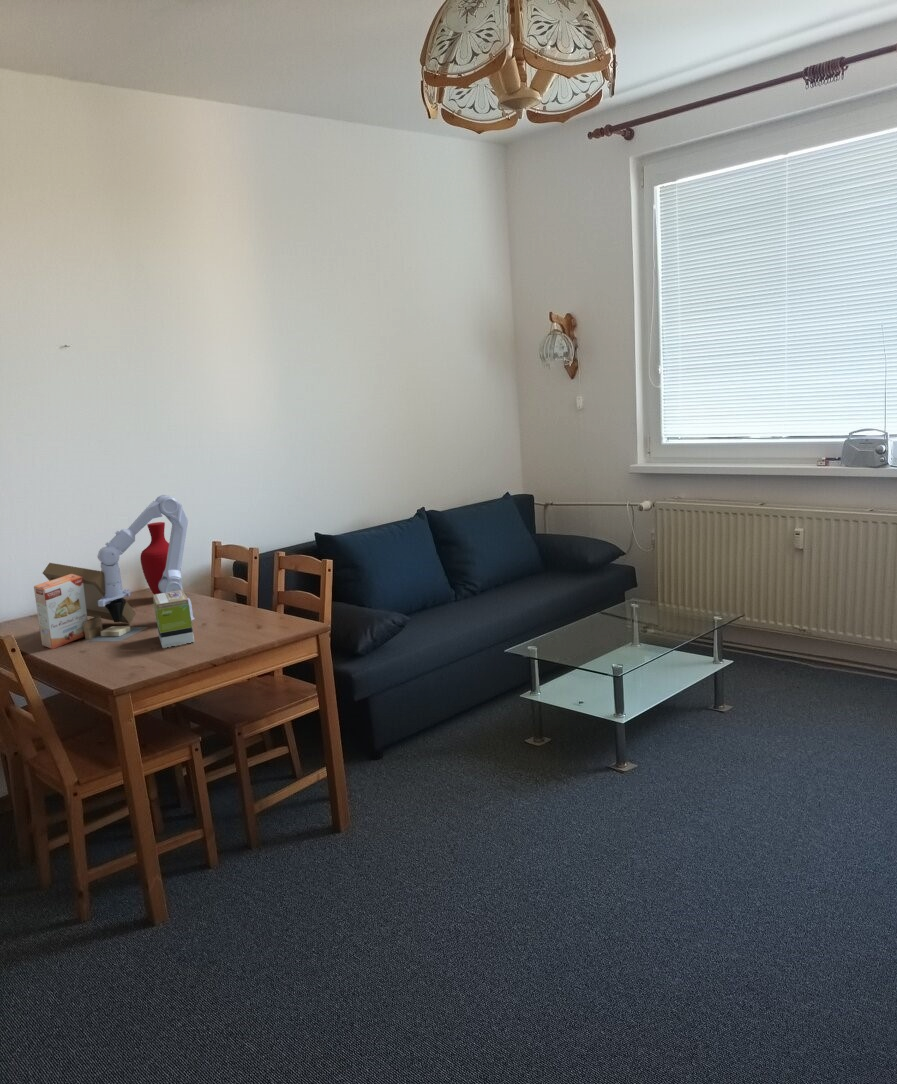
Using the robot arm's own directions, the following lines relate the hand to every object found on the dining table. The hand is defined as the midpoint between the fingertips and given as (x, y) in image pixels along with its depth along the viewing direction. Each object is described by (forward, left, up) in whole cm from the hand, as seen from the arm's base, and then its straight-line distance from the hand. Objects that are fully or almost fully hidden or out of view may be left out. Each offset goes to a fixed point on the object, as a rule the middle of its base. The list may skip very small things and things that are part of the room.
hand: (117, 621), depth 285 cm
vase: (+11, -45, -4) cm, 47 cm away
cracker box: (+12, +11, -3) cm, 17 cm away
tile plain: (+6, +5, -4) cm, 9 cm away
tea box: (-26, +7, -4) cm, 27 cm away
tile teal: (0, -1, -3) cm, 3 cm away
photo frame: (+12, -15, +3) cm, 20 cm away
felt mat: (0, +2, -4) cm, 4 cm away
